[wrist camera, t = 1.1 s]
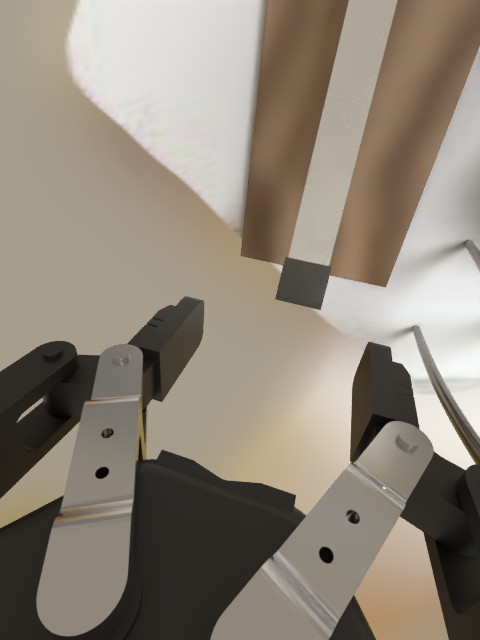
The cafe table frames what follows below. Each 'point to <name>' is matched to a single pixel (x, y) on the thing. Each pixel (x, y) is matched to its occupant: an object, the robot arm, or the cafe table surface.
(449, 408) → the juicer
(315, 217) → the tong arm
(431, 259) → the cafe table surface
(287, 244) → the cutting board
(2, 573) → the robot arm
